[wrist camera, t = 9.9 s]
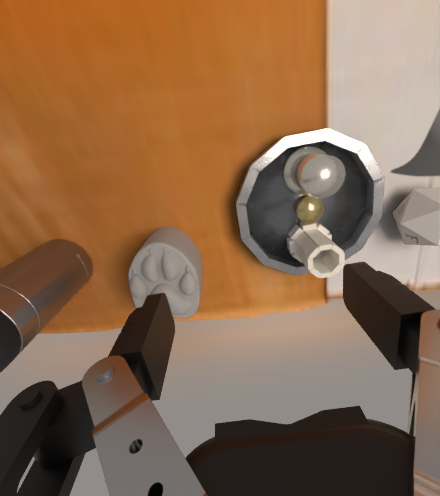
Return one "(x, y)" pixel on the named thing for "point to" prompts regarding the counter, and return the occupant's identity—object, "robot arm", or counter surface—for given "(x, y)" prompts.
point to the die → (420, 217)
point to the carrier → (309, 195)
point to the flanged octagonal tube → (315, 249)
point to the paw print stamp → (168, 271)
